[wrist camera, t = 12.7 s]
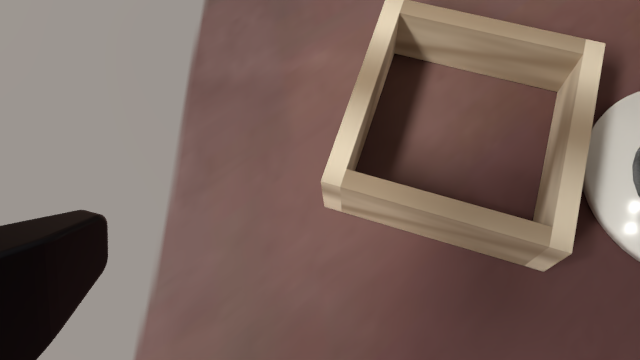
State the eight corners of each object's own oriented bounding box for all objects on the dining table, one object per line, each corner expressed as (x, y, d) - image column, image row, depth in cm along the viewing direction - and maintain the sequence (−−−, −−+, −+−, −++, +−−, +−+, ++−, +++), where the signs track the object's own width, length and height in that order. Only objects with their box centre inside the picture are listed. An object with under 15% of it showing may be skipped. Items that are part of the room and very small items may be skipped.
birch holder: (543, 271, 22) (571, 253, 19) (324, 206, 23) (320, 181, 21) (577, 82, 25) (605, 43, 22) (383, 37, 27) (387, -5, 24)
